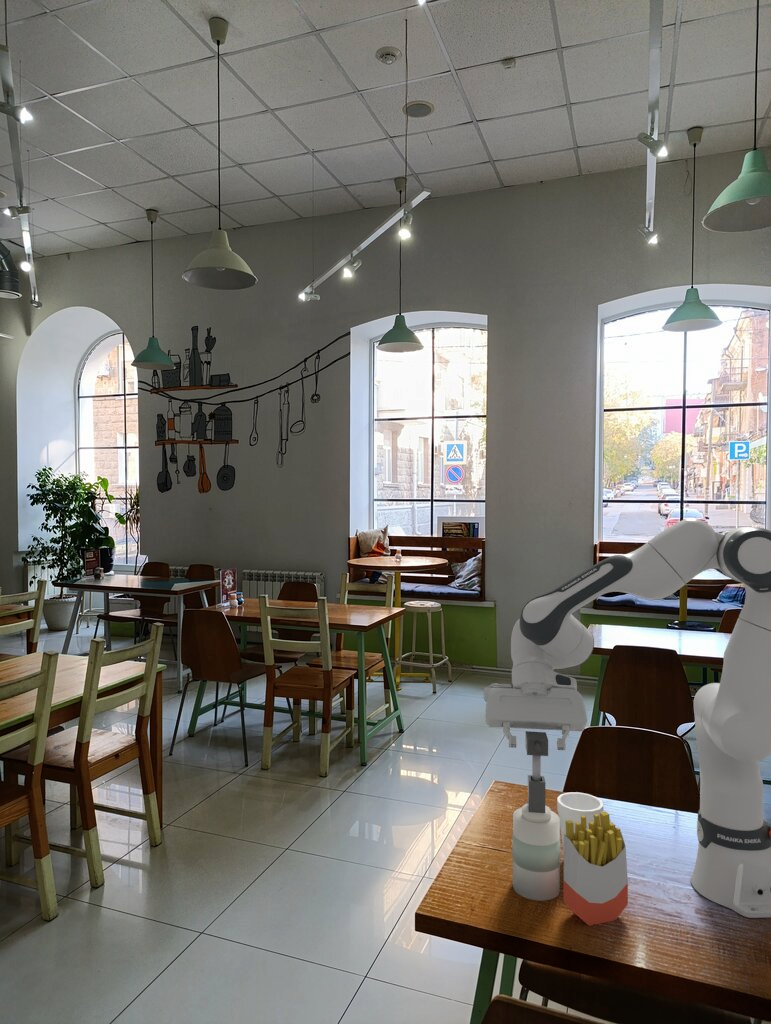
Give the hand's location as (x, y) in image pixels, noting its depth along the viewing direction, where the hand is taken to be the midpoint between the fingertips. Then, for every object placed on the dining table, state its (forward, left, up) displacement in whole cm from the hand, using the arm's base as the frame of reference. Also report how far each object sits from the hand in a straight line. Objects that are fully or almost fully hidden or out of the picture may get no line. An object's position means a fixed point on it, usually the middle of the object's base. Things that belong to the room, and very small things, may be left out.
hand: (536, 747), depth 131 cm
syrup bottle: (0, -1, -28) cm, 28 cm away
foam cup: (-10, -12, -28) cm, 32 cm away
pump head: (0, +1, -7) cm, 7 cm away
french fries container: (-10, +7, -28) cm, 31 cm away
